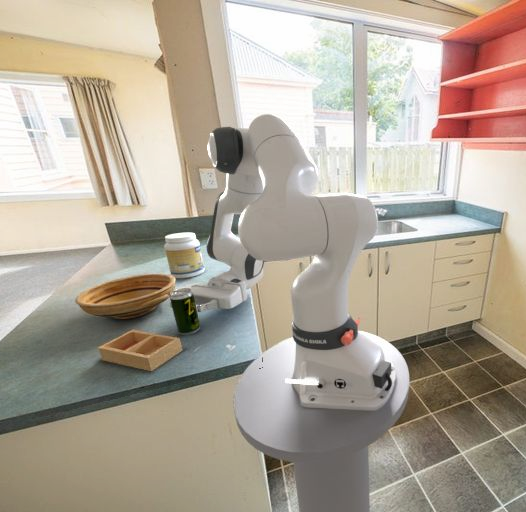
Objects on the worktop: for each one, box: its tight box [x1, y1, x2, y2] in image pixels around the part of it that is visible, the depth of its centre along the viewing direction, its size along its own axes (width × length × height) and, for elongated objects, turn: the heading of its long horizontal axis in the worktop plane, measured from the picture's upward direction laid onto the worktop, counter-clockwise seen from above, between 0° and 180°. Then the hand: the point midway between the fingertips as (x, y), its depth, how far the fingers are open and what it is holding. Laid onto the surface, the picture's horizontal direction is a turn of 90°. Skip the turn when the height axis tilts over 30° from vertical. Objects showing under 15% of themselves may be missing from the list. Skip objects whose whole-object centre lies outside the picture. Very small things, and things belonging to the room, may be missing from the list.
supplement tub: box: [163, 232, 206, 279], centre depth 123 cm, size 12×12×17 cm
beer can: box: [169, 288, 201, 336], centre depth 82 cm, size 5×5×12 cm
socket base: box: [97, 329, 183, 372], centre depth 73 cm, size 15×8×4 cm, turn 75°
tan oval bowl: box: [74, 273, 177, 320], centre depth 94 cm, size 30×24×8 cm
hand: (185, 307), depth 82 cm, fingers open, 8 cm apart
